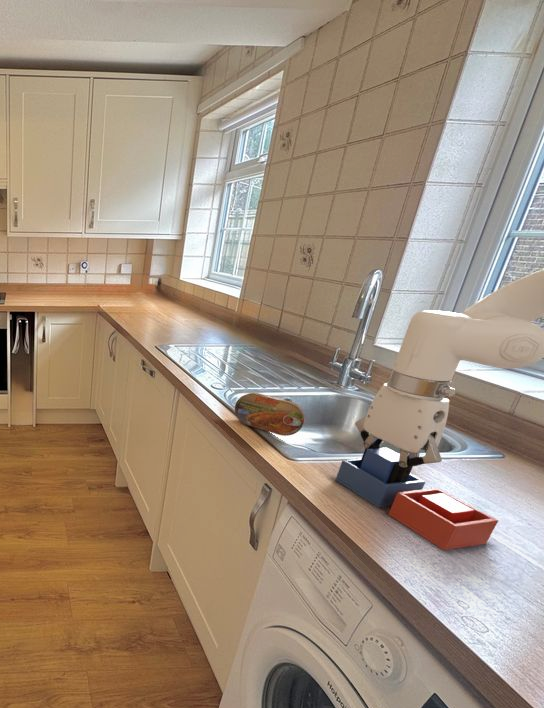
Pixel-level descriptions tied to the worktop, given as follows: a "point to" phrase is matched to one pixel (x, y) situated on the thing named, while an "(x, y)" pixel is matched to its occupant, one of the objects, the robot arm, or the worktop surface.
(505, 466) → the worktop surface
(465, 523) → the red bin
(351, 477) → the blue bin
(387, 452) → the blue block
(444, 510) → the red block
